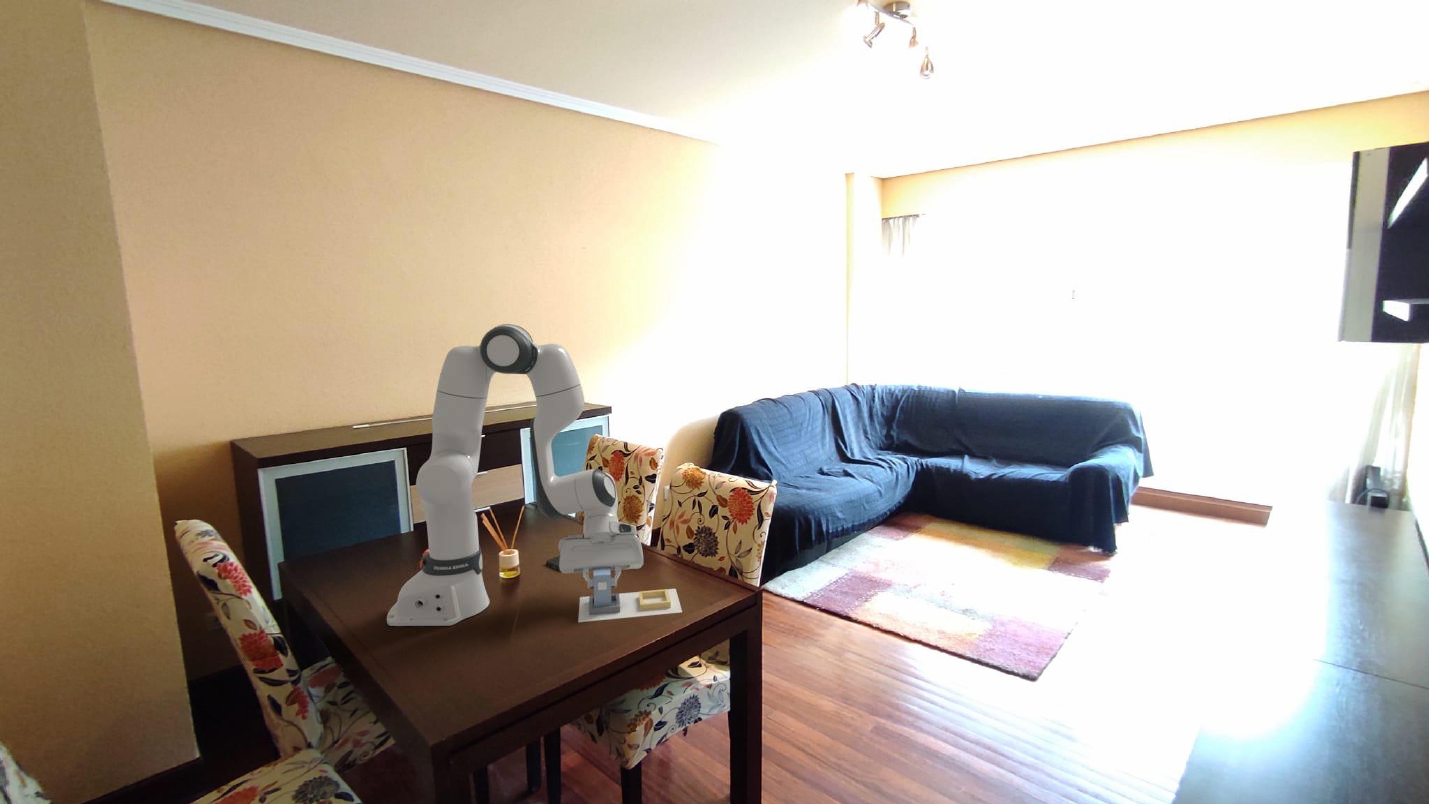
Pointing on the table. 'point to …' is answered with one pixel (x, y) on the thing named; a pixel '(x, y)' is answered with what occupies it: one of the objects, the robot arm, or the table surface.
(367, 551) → the table surface
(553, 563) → the smart home device
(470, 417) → the robot arm
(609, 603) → the plug
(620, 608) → the white board with frames
